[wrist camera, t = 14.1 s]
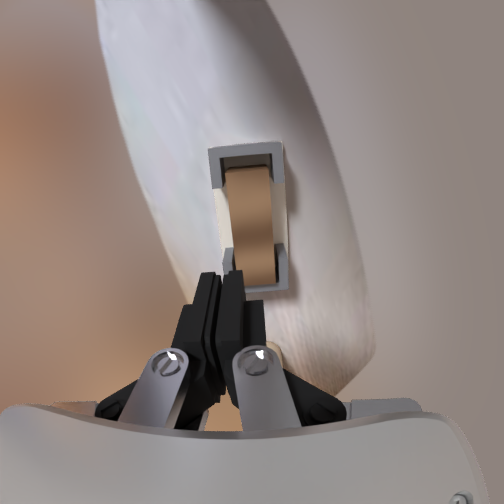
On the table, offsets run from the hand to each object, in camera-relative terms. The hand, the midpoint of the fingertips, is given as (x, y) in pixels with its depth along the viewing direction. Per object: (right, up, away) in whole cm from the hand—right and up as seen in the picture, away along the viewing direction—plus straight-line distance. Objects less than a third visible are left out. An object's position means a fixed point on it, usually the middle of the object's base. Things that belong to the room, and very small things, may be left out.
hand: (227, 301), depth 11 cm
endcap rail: (+1, +7, +21) cm, 22 cm away
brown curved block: (+1, +6, +20) cm, 21 cm away
